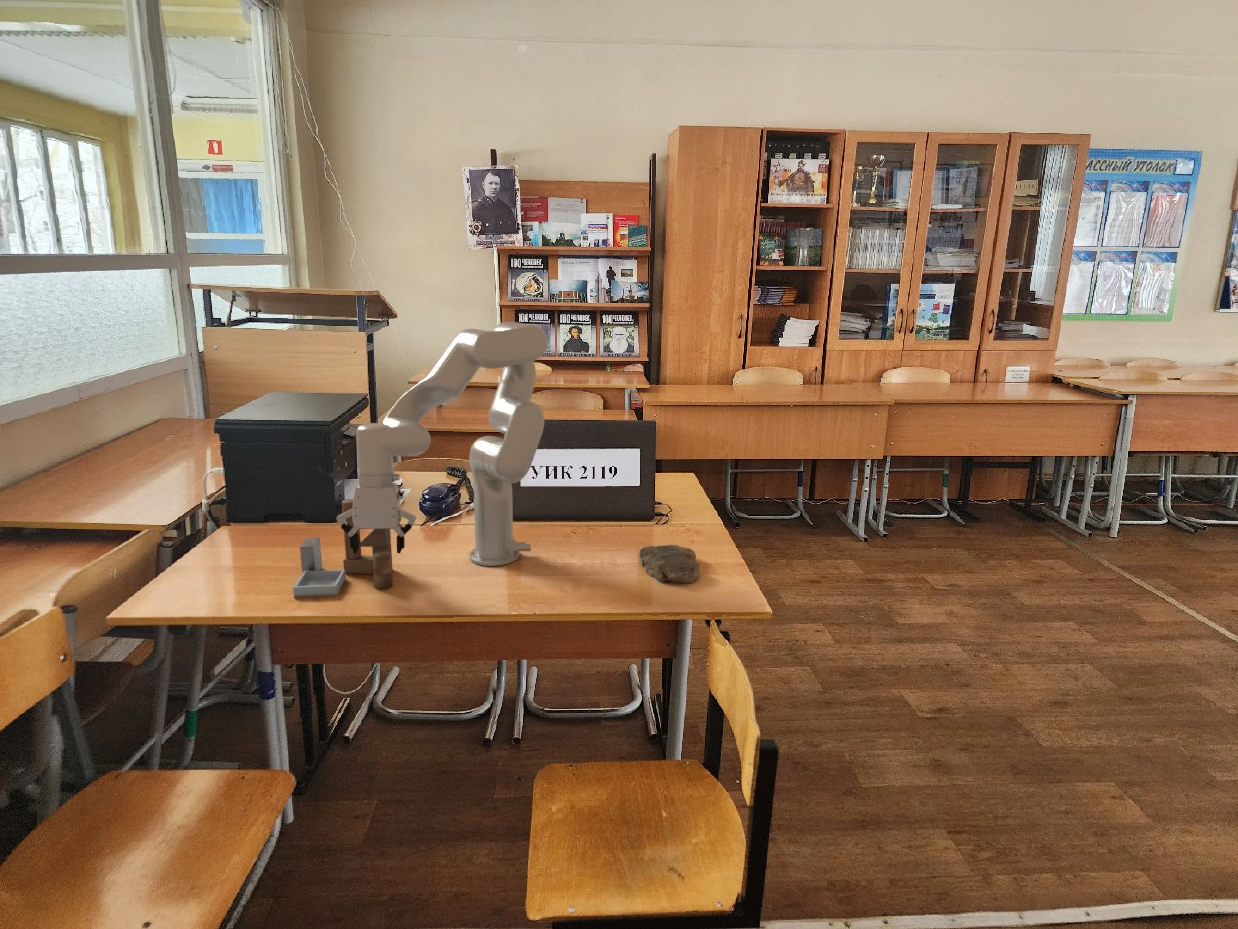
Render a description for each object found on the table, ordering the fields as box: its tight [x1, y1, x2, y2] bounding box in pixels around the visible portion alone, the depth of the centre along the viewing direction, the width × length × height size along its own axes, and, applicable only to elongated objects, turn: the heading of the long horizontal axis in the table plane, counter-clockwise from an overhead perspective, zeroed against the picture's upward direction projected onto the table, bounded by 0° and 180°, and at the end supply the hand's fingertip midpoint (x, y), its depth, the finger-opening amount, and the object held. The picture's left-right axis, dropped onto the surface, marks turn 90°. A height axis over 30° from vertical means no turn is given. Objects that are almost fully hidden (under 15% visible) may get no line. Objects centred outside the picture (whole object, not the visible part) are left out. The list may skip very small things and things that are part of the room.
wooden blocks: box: [341, 498, 393, 575], centre depth 179 cm, size 4×11×18 cm, turn 89°
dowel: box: [372, 551, 394, 591], centre depth 172 cm, size 4×4×8 cm
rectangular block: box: [299, 537, 323, 575], centre depth 179 cm, size 3×6×8 cm, turn 8°
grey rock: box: [638, 544, 701, 584], centre depth 186 cm, size 14×5×20 cm
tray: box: [292, 569, 347, 599], centre depth 171 cm, size 9×9×2 cm
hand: (377, 551), depth 171 cm, fingers open, 9 cm apart
